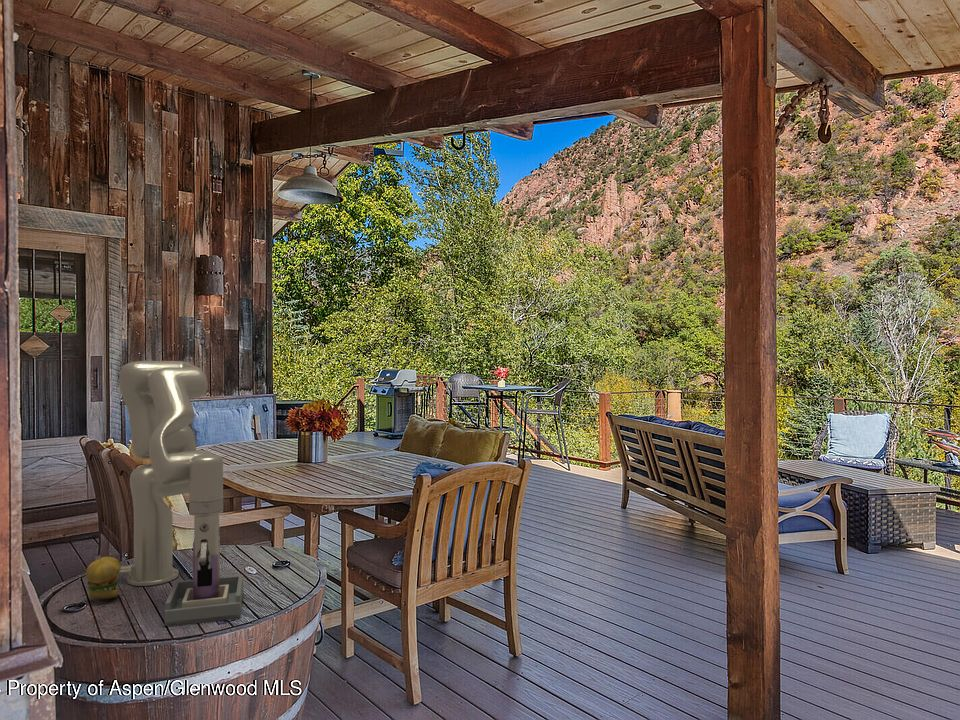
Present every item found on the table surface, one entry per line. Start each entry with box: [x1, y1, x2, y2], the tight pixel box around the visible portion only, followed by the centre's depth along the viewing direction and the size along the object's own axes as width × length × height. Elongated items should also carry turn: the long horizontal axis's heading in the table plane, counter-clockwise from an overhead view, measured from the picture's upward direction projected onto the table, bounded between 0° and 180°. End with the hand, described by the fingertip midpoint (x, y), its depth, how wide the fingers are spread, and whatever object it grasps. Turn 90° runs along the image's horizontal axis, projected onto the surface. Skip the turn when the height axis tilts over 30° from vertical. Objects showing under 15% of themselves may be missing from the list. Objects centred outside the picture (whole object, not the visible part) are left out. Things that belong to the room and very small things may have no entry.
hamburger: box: [85, 555, 122, 600], centre depth 160 cm, size 8×7×12 cm
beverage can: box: [192, 537, 221, 600], centre depth 154 cm, size 6×6×15 cm
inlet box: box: [163, 574, 244, 627], centre depth 154 cm, size 16×16×5 cm
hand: (206, 580), depth 154 cm, fingers closed on beverage can, 5 cm apart
